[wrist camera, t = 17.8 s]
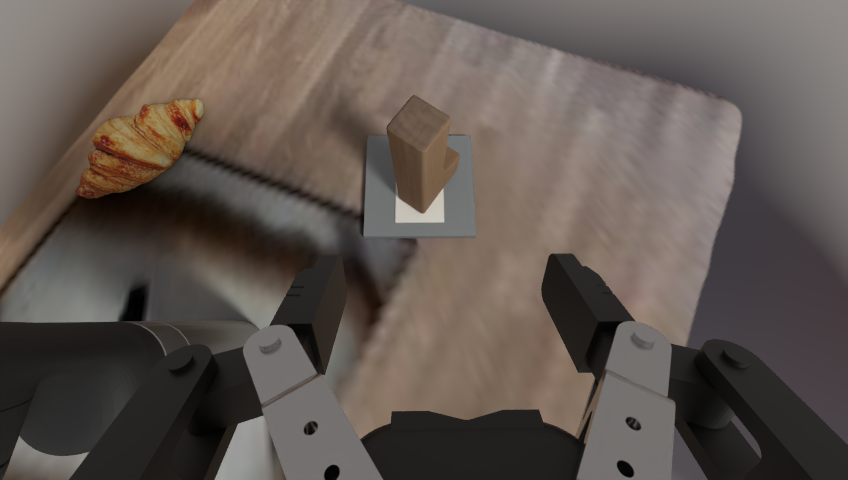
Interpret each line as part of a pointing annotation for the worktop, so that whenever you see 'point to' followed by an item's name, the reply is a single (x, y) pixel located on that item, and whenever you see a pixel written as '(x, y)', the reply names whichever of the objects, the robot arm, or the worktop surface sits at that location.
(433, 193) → the wooden block
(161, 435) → the robot arm
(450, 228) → the socket board
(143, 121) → the croissant
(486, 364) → the worktop surface
